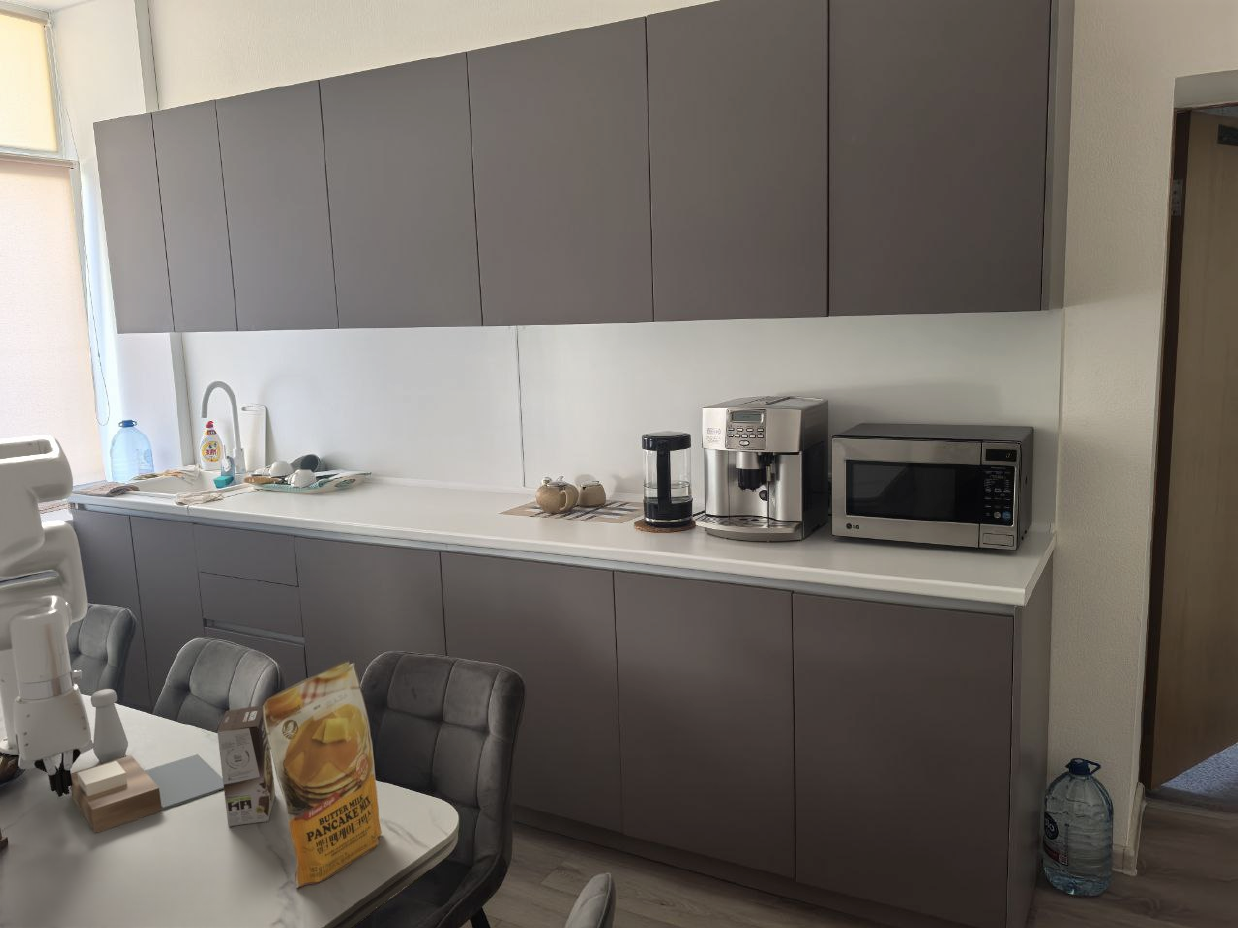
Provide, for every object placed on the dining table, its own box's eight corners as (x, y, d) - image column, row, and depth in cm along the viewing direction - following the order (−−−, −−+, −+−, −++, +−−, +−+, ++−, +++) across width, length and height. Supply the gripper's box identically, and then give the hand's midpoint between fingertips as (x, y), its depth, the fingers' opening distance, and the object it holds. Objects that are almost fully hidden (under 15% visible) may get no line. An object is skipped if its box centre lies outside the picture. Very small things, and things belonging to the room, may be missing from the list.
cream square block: (78, 783, 167) (77, 772, 166) (117, 771, 170) (116, 760, 170) (87, 796, 162) (85, 784, 162) (127, 783, 166) (125, 772, 166)
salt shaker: (131, 759, 184) (122, 692, 182) (97, 768, 181) (87, 700, 179) (126, 748, 189) (117, 683, 187) (93, 757, 186) (83, 690, 184)
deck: (71, 795, 171) (68, 773, 171) (134, 775, 177) (131, 754, 177) (95, 832, 158) (92, 809, 158) (162, 810, 164) (159, 787, 164)
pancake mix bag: (267, 885, 141) (245, 698, 137) (368, 823, 157) (351, 653, 152) (298, 899, 138) (277, 707, 133) (399, 834, 153) (383, 660, 149)
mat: (135, 775, 178) (135, 773, 178) (198, 755, 184) (197, 753, 184) (163, 809, 165) (163, 807, 165) (229, 787, 171) (229, 785, 171)
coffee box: (269, 821, 159) (258, 725, 157) (227, 827, 158) (215, 731, 155) (276, 794, 168) (266, 703, 165) (236, 800, 167) (225, 708, 164)
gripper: (92, 666, 167) (106, 769, 170) (-12, 692, 158) (5, 800, 161) (103, 678, 161) (117, 784, 164) (-5, 705, 152) (13, 817, 155)
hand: (62, 792), depth 162 cm, fingers closed
